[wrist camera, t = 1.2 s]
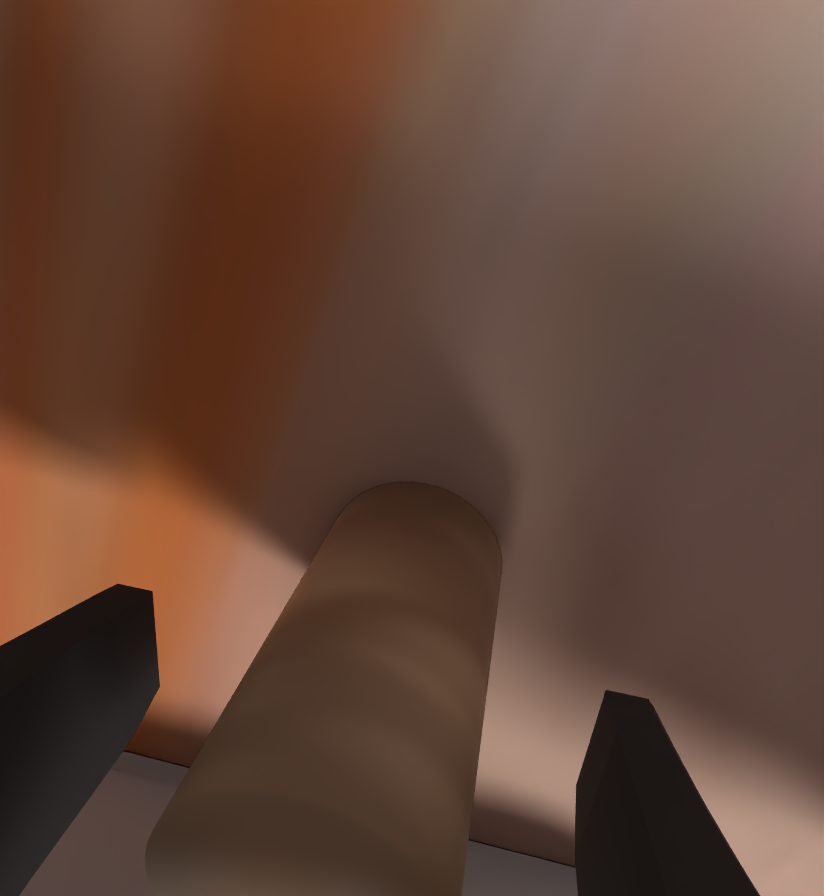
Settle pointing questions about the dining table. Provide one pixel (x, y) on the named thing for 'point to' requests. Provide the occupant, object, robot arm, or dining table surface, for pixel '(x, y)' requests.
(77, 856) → the bore box
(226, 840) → the peg
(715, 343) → the dining table surface
